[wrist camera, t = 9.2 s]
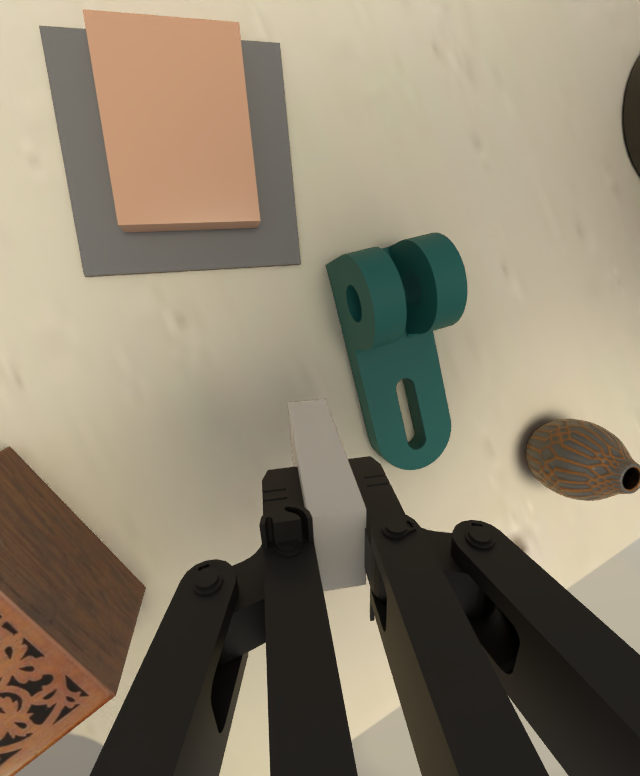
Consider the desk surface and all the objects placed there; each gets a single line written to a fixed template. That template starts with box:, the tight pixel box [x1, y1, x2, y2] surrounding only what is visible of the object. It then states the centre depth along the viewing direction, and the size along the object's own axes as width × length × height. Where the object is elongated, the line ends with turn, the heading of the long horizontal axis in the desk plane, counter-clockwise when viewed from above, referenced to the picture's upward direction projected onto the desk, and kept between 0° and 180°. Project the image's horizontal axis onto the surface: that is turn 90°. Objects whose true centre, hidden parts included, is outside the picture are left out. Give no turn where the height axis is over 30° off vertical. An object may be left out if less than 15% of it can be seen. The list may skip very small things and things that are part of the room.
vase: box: [526, 419, 640, 501], centre depth 35 cm, size 7×7×9 cm
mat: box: [39, 26, 301, 277], centre depth 28 cm, size 15×15×1 cm
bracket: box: [326, 233, 467, 470], centre depth 31 cm, size 18×7×8 cm, turn 15°
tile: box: [83, 10, 260, 233], centre depth 27 cm, size 9×2×12 cm
